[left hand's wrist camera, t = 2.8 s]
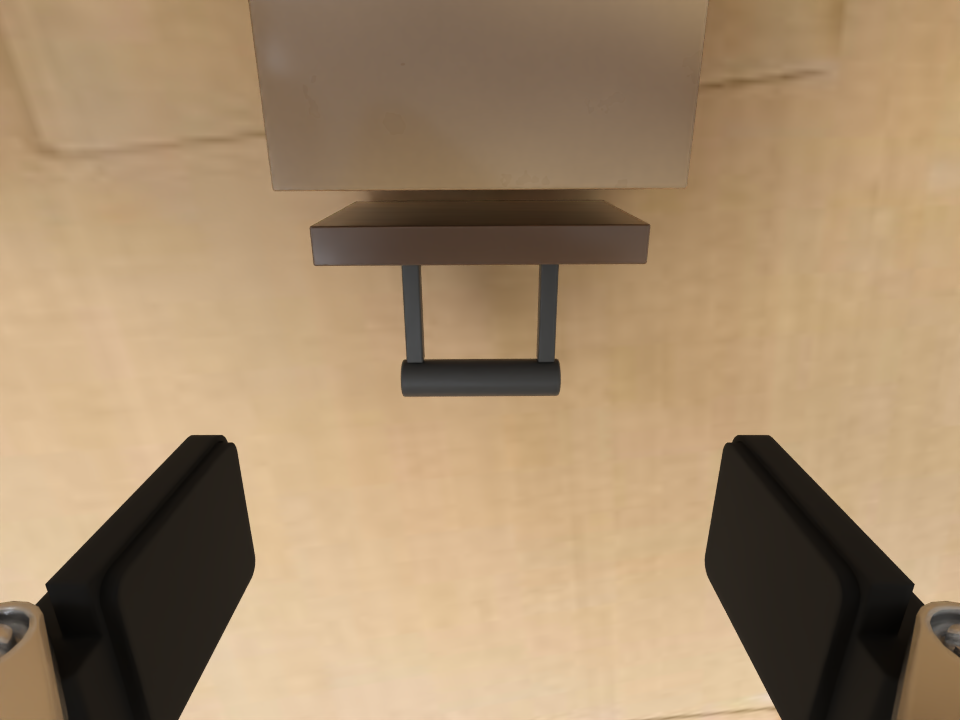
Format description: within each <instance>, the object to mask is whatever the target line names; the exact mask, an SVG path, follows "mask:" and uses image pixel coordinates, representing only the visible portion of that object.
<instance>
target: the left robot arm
mask: <svg viewBox="0 0 960 720" xmlns="http://www.w3.org/2000/svg"><path fill="white" fill-rule="evenodd" d="M254 568H255V553H254V548H253V542H252V536H251V530H250V524H249V518H248V512H247V506H246V500H245V495H244V489H243V483H242V477H241V471H240V465H239V459H238V453H237V449H236V446H235V444H234V443H228V442H227V440H226V438H225V437H224V436H223V435H191V436H189V437H188V438H187V439H186V440H185V441H184V442H183V443H182V444H181V445H180V446H179V447H178V448H177V449H176V450H175V451H174V452H173V453H172V454H171V455H170V456H169V457H168V458H167V459H166V461H165V462H164V463H163V464H162V465H161V466H160V467H159V468H158V469H157V470H156V471H155V472H154V473H153V474H152V475H151V476H150V477H149V478H148V479H147V480H146V481H145V482H144V483H143V484H142V485H141V486H140V487H139V488H138V489H137V490H136V491H135V492H134V493H133V495H132V496H131V497H130V498H129V499H128V500H127V501H126V502H125V503H124V504H123V505H122V506H121V507H120V508H119V509H118V510H117V511H116V512H115V513H114V514H113V515H112V516H111V517H110V518H109V519H108V520H107V521H106V522H105V523H104V524H103V525H102V526H101V527H100V529H99V530H98V531H97V532H96V533H95V534H94V535H93V536H92V537H91V538H90V539H89V540H88V541H87V542H86V543H85V544H84V545H83V546H82V547H81V548H80V549H79V550H78V551H77V552H76V553H75V554H74V555H73V556H72V557H71V558H70V559H69V560H68V561H67V563H66V564H65V565H64V566H63V567H62V568H61V569H60V570H59V571H58V572H57V573H56V574H55V575H54V576H53V577H52V578H51V579H50V580H49V581H48V582H47V583H46V584H45V585H46V588H47V591H48V592H47V593H46V594H45V595H44V596H43V597H42V598H41V599H40V601H39V602H38V603H37V604H36V605H34V604H32V603H29V602H20V601H11V602H4V603H0V720H178V719H179V717H180V715H181V714H182V712H183V710H184V708H185V706H186V704H187V702H188V700H189V698H190V696H191V694H192V692H193V690H194V688H195V686H196V685H197V683H198V681H199V679H200V677H201V675H202V673H203V671H204V669H205V667H206V665H207V663H208V661H209V659H210V657H211V656H212V654H213V652H214V650H215V648H216V646H217V644H218V642H219V640H220V638H221V636H222V634H223V632H224V630H225V628H226V627H227V625H228V623H229V621H230V619H231V617H232V615H233V613H234V611H235V609H236V607H237V605H238V603H239V601H240V599H241V598H242V596H243V594H244V592H245V590H246V588H247V586H248V584H249V582H250V580H251V578H252V576H253V573H254ZM705 568H706V573H707V576H708V578H709V580H710V582H711V584H712V586H713V588H714V590H715V592H716V594H717V596H718V598H719V599H720V601H721V603H722V605H723V607H724V609H725V611H726V613H727V615H728V617H729V619H730V621H731V623H732V625H733V627H734V628H735V630H736V632H737V634H738V636H739V638H740V640H741V642H742V644H743V646H744V648H745V650H746V652H747V654H748V656H749V657H750V659H751V661H752V663H753V665H754V667H755V669H756V671H757V673H758V675H759V677H760V679H761V681H762V683H763V685H764V686H765V688H766V690H767V692H768V694H769V696H770V698H771V700H772V702H773V704H774V706H775V708H776V710H777V712H778V714H779V715H780V717H781V719H782V720H960V603H956V602H949V601H940V602H931V603H928V604H926V605H924V604H923V603H922V602H921V601H920V599H919V598H918V597H917V596H916V595H915V594H914V593H913V592H912V591H913V588H914V585H915V584H914V583H913V582H912V581H911V580H910V579H909V578H908V577H907V576H906V575H905V574H904V573H903V572H902V571H901V570H900V569H899V568H898V567H897V566H896V565H895V564H894V563H893V561H892V560H891V559H890V558H889V557H888V556H887V555H886V554H885V553H884V552H883V551H882V550H881V549H880V548H879V547H878V546H877V545H876V544H875V543H874V542H873V541H872V540H871V539H870V538H869V537H868V536H867V535H866V534H865V533H864V532H863V531H862V530H861V529H860V527H859V526H858V525H857V524H856V523H855V522H854V521H853V520H852V519H851V518H850V517H849V516H848V515H847V514H846V513H845V512H844V511H843V510H842V509H841V508H840V507H839V506H838V505H837V504H836V503H835V502H834V501H833V500H832V499H831V498H830V497H829V496H828V495H827V493H826V492H825V491H824V490H823V489H822V488H821V487H820V486H819V485H818V484H817V483H816V482H815V481H814V480H813V479H812V478H811V477H810V476H809V475H808V474H807V473H806V472H805V471H804V470H803V469H802V468H801V467H800V466H799V465H798V464H797V463H796V462H795V461H794V459H793V458H792V457H791V456H790V455H789V454H788V453H787V452H786V451H785V450H784V449H783V448H782V447H781V446H780V445H779V444H778V443H777V442H776V441H775V440H774V439H773V438H772V437H771V436H769V435H737V436H736V437H735V438H734V440H733V442H732V443H726V444H725V446H724V449H723V453H722V459H721V465H720V471H719V477H718V483H717V489H716V495H715V500H714V506H713V512H712V518H711V524H710V530H709V536H708V542H707V548H706V553H705Z"/></svg>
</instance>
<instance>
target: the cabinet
mask: <svg viewBox="0 0 960 720" xmlns="http://www.w3.org/2000/svg"><path fill="white" fill-rule="evenodd" d="M248 1H249V9H250V17H251V24H252V32H253V40H254V48H255V55H256V63H257V71H258V79H259V87H260V94H261V102H262V110H263V118H264V125H265V133H266V141H267V149H268V156H269V164H270V172H271V180H272V188H273V190H274V191H370V190H535V189H685V188H686V187H687V181H688V173H689V164H690V156H691V147H692V139H693V130H694V122H695V113H696V105H697V96H698V88H699V79H700V71H701V62H702V54H703V45H704V36H705V28H706V19H707V11H708V2H709V0H248Z"/></svg>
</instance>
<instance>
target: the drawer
mask: <svg viewBox="0 0 960 720" xmlns="http://www.w3.org/2000/svg"><path fill="white" fill-rule="evenodd" d="M649 233H650V224H648V223H646V222H644V221H642V220H640V219H638V218H636V217H634V216H632V215H630V214H629V213H627V212H625V211H623V210H621V209H619V208H617V207H615V206H613V205H611V204H609V203H608V202H606V201H604V200H574V201H409V202H355V203H353V204H351V205H349V206H347V207H345V208H344V209H342V210H340V211H338V212H336V213H334V214H333V215H331V216H329V217H327V218H325V219H323V220H322V221H320V222H318V223H316V224H314V225H312V226H310V235H311V244H312V253H313V263H314V265H315V266H376V265H402V283H403V301H404V319H405V338H406V356H407V360H403V362H402V366H401V390H402V394H403V396H405V397H429V396H557V395H559V392H560V384H561V372H560V363H559V360H558V359H555V338H556V315H557V292H558V269H559V264H645V263H646V262H647V254H648V243H649ZM421 265H539V295H538V327H537V359H424V357H425V354H424V331H423V308H422V284H421Z"/></svg>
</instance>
